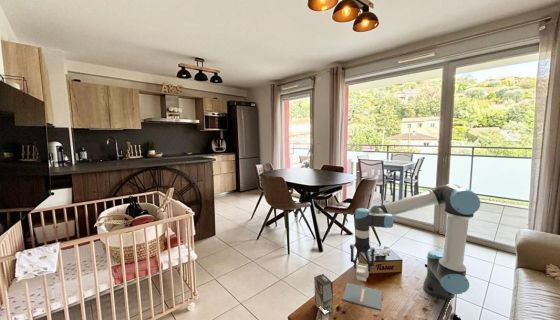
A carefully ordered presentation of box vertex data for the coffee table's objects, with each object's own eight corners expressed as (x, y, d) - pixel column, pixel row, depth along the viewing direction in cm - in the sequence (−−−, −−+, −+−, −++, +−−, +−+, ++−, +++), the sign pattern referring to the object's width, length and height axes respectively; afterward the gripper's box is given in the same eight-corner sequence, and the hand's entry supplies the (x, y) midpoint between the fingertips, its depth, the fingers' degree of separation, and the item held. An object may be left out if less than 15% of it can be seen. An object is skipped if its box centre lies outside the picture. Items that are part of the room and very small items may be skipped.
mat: (381, 292, 135) (381, 291, 135) (380, 310, 121) (380, 309, 120) (347, 283, 144) (347, 282, 144) (342, 299, 129) (342, 298, 129)
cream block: (365, 281, 126) (366, 273, 125) (356, 279, 128) (356, 271, 127) (367, 271, 134) (367, 264, 134) (358, 269, 137) (358, 262, 136)
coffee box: (333, 311, 121) (333, 282, 120) (323, 315, 118) (323, 286, 117) (323, 300, 129) (323, 273, 128) (314, 304, 127) (313, 276, 125)
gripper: (379, 235, 128) (379, 275, 130) (347, 231, 136) (347, 268, 138) (379, 241, 122) (379, 282, 124) (344, 236, 130) (344, 275, 132)
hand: (362, 275), depth 131 cm, fingers closed on cream block, 5 cm apart
